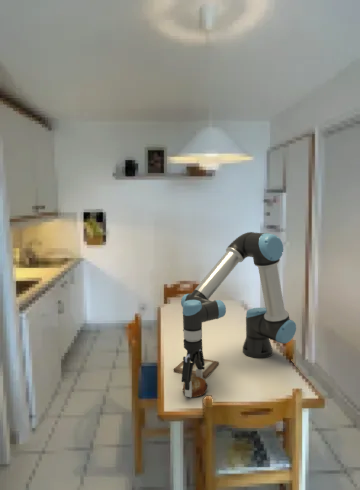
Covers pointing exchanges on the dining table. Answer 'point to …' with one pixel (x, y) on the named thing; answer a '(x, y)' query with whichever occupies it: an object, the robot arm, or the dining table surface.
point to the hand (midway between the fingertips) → (194, 390)
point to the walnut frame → (209, 367)
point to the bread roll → (197, 386)
